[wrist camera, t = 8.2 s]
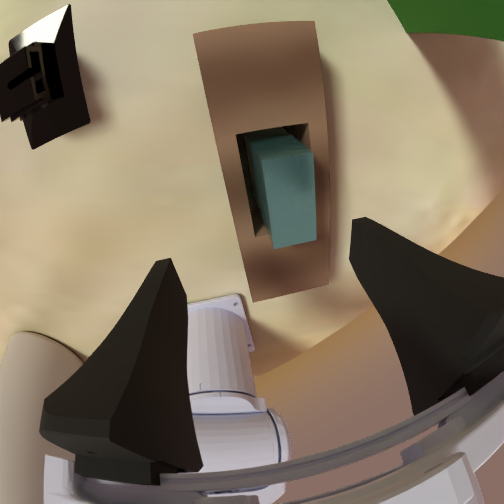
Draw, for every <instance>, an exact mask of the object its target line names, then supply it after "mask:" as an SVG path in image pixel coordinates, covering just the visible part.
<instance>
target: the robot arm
mask: <svg viewBox="0 0 504 504" xmlns="http://www.w3.org/2000/svg"><path fill="white" fill-rule="evenodd" d="M349 260H350V263H351V265H352V267H353V269H354V271H355V274H356V276H357V278H358V280H359V281H360V283H361V285H362V286H363V288H364V290H365V291H366V293H367V295H368V296H369V298H370V300H371V301H372V303H373V304H374V306H375V308H376V309H377V311H378V313H379V314H380V316H381V318H382V320H383V321H384V323H385V325H386V327H387V329H388V331H389V334H390V337H391V339H392V341H393V344H394V346H395V349H396V352H397V354H398V357H399V360H400V363H401V366H402V369H403V372H404V376H405V379H406V383H407V387H408V391H409V395H410V400H411V404H412V410H413V414H414V416H413V417H411V418H409V419H407V420H405V421H403V422H401V423H399V424H397V425H394V426H392V427H390V428H388V429H385V430H383V431H381V432H378V433H376V434H373V435H371V436H368V437H366V438H363V439H361V440H358V441H355V442H352V443H349V444H346V445H343V446H340V447H337V448H334V449H331V450H328V451H324V452H321V453H317V454H314V455H310V456H306V457H302V458H298V459H294V460H291V456H292V444H291V437H290V432H289V429H288V426H287V424H286V422H285V420H284V419H283V417H282V416H281V415H280V414H279V413H278V412H277V411H276V410H275V409H273V408H267V407H266V402H265V398H257V394H256V389H255V383H254V378H253V373H252V367H251V362H250V357H249V352H253V351H254V350H255V346H254V343H253V339H252V336H251V332H250V329H249V325H248V322H247V318H246V315H245V311H244V308H243V304H242V301H241V297H240V295H238V294H233V295H228V296H223V297H219V298H214V299H209V300H204V301H200V302H195V303H190V304H187V296H186V293H185V291H184V288H183V286H182V284H181V281H180V279H179V277H178V274H177V272H176V269H175V267H174V265H173V262H172V260H171V258H168V259H163V260H159V261H156V262H155V264H154V265H153V267H152V268H151V270H150V272H149V273H148V275H147V277H146V278H145V280H144V282H143V283H142V285H141V287H140V288H139V290H138V292H137V293H136V295H135V296H134V298H133V300H132V301H131V303H130V304H129V306H128V307H127V309H126V310H125V312H124V313H123V315H122V316H121V318H120V319H119V321H118V322H117V324H116V325H115V326H114V328H113V329H112V331H111V332H110V333H109V334H108V336H107V337H106V338H105V340H104V341H103V342H102V343H101V344H100V346H99V347H98V348H97V349H96V350H95V351H94V352H93V354H92V355H91V356H90V357H89V358H88V359H87V360H86V362H85V363H84V364H83V365H82V366H81V367H80V368H79V369H78V370H77V371H76V372H75V373H74V374H73V375H72V376H71V377H70V378H68V379H67V380H66V381H65V382H64V383H63V384H62V385H61V386H59V387H58V388H57V389H56V390H55V391H53V392H52V393H51V394H50V395H49V396H47V397H46V398H45V399H44V403H43V409H42V414H41V420H40V427H39V433H40V434H41V436H42V437H43V438H44V439H46V440H47V441H49V442H51V443H53V444H54V445H56V446H58V447H60V448H63V449H65V450H67V451H69V452H71V453H73V454H75V461H73V460H70V459H66V458H62V457H58V456H54V455H50V454H46V455H45V466H44V504H272V503H273V502H275V501H276V500H277V499H278V498H279V497H280V496H282V495H283V494H284V493H285V486H286V482H289V481H293V480H298V479H302V478H306V477H310V476H314V475H317V474H321V473H325V472H328V471H331V470H334V469H337V468H341V467H344V466H347V465H350V464H352V463H355V462H358V461H361V460H363V459H366V458H368V457H371V456H373V455H376V454H378V453H381V452H383V451H385V450H387V449H390V448H392V447H394V446H396V445H399V444H400V443H403V442H405V441H407V440H409V439H411V438H413V437H415V436H417V435H419V434H420V433H422V432H424V431H426V430H428V429H430V428H431V427H433V426H435V425H436V424H438V423H439V425H438V429H437V430H436V431H434V432H432V433H431V434H429V435H427V436H425V437H424V438H422V439H420V440H419V441H418V442H416V443H415V444H413V445H411V446H410V447H408V448H406V449H404V450H402V451H401V453H400V454H401V457H402V460H403V463H402V464H400V465H398V466H396V467H393V468H392V469H389V470H387V471H384V472H382V473H380V474H378V475H375V476H372V477H370V478H367V479H365V480H362V481H359V482H356V483H354V484H351V485H348V486H345V487H342V488H339V489H336V490H332V491H329V492H325V493H322V494H318V495H314V496H311V497H307V498H303V499H298V500H294V501H289V502H285V503H280V504H485V503H484V499H483V496H482V493H481V489H480V486H479V483H478V480H477V477H476V474H475V471H476V470H477V469H478V468H479V467H480V466H481V465H482V464H484V463H485V461H487V460H488V458H490V457H491V456H492V454H493V453H495V451H496V450H497V449H498V448H499V447H500V446H501V445H502V444H503V443H504V278H503V277H498V276H495V275H491V274H488V273H484V272H481V271H477V270H474V269H471V268H469V267H466V266H463V265H460V264H458V263H456V262H453V261H451V260H448V259H446V258H444V257H442V256H439V255H437V254H435V253H433V252H431V251H429V250H427V249H425V248H423V247H421V246H419V245H417V244H415V243H414V242H412V241H410V240H408V239H406V238H404V237H403V236H401V235H399V234H397V233H395V232H394V231H392V230H390V229H388V228H386V227H385V226H383V225H381V224H379V223H377V222H375V221H373V220H371V219H369V218H367V217H363V218H358V219H353V220H352V231H351V244H350V255H349ZM236 302H238V303H236Z"/></svg>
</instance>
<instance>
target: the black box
mask: <svg viewBox="0 0 504 504" xmlns="http://www.w3.org/2000/svg"><path fill="white" fill-rule="evenodd" d="M9 52H10V57H9V58H7V59H6V60H5V61H3V62H2V63H1V64H0V117H1V121H2V122H3V121H6V120H8V119H11V122H13V121H16V120H18V119H20V121H22V120H23V122H24V126H25V129H26V133H27V136H28V139H29V142H30V145H31V148H32V149H36V148H37V147H39V146H41V145H43V144H45V143H47V142H49V141H51V140H53V139H55V138H57V137H59V136H61V135H64V134H66V133H68V132H70V131H72V130H75V129H77V128H79V127H82V126H84V125H86V124H89V123H90V117H89V113H88V109H87V104H86V100H85V96H84V91H83V86H82V82H81V77H80V71H79V66H78V60H77V54H76V47H75V40H74V32H73V23H72V13H71V5H70V4H69V5H66V6H65V7H63V8H61V9H59V10H57V11H55V12H53V13H52V14H50V15H48V16H46V17H45V18H43V19H41V20H40V21H38V22H36V23H35V24H33V25H32V26H30V27H29V28H27V29H26V30H24V31H23V32H21V33H20V34H18V35H17V36H15V37H14V38H13V39H11V40H10V41H9Z"/></svg>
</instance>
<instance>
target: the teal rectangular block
mask: <svg viewBox="0 0 504 504" xmlns="http://www.w3.org/2000/svg"><path fill="white" fill-rule="evenodd" d="M244 136H245V142H246V148H247V154H248V160H249V166H250V172H251V178H252V184H253V190H254V196H255V201H256V203H257V206H258V208H259V211H260V214H261V216H262V219H263V222H264V224H265V227H266V230H267V232H268V235H269V238H270V240H271V243H272V246H273V248H274V249H278V248H282V247H287V246H291V245H296V244H300V243H305V242H309V241H314V240H316V201H315V178H314V160H313V152H312V151H311V150H310V149H309V148H307V147H306V146H305V145H304V144H302V143H301V142H300V141H299V140H297V139H296V138H295V137H294V136H292V135H291V134H290V133H288V132H287V131H286V130H284V129H283V128H282V127H275V128H268V129H262V130H257V131H251V132H246V133H244Z"/></svg>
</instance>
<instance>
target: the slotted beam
mask: <svg viewBox="0 0 504 504" xmlns="http://www.w3.org/2000/svg"><path fill="white" fill-rule="evenodd" d="M193 37H194V42H195V47H196V52H197V56H198V61H199V66H200V71H201V75H202V80H203V85H204V90H205V94H206V99H207V104H208V108H209V113H210V117H211V122H212V127H213V131H214V136H215V140H216V145H217V149H218V154H219V158H220V163H221V167H222V172H223V176H224V181H225V185H226V189H227V194H228V198H229V203H230V207H231V211H232V216H233V220H234V225H235V229H236V233H237V238H238V242H239V246H240V250H241V255H242V259H243V263H244V268H245V272H246V276H247V280H248V284H249V289H250V293H251V297H252V301H253V302H257V301H262V300H266V299H270V298H275V297H279V296H283V295H287V294H291V293H295V292H299V291H303V290H307V289H311V288H315V287H319V286H323V285H327V284H329V268H330V171H329V149H328V132H327V119H326V107H325V96H324V86H323V77H322V69H321V61H320V54H319V47H318V40H317V34H316V28H315V22H314V21H287V22H269V23H258V24H248V25H240V26H233V27H226V28H220V29H214V30H209V31H204V32H199V33H195V34H193ZM288 125H292V133H293V136H294V137H295V138H296V139H297V140H299V141H300V142H301V143H302V144H304V145H305V146H306V147H307V148H309V149H310V150H311V151H312V152H313V160H314V178H315V201H316V240H314V241H309V242H305V243H300V244H296V245H291V246H287V247H282V248H278V249H274V248H273V246H272V243H271V240H270V238H269V235H268V232H267V230H266V227H265V224H264V222H263V219H262V216H261V214H260V211H259V208H256V209H251V210H250V208H249V202H248V197H247V192H246V187H245V181H244V176H243V171H242V166H241V160H240V155H239V150H238V145H237V139H236V134H241V133H246V132H251V131H257V130H262V129H268V128H275V127H281V126H288Z"/></svg>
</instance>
